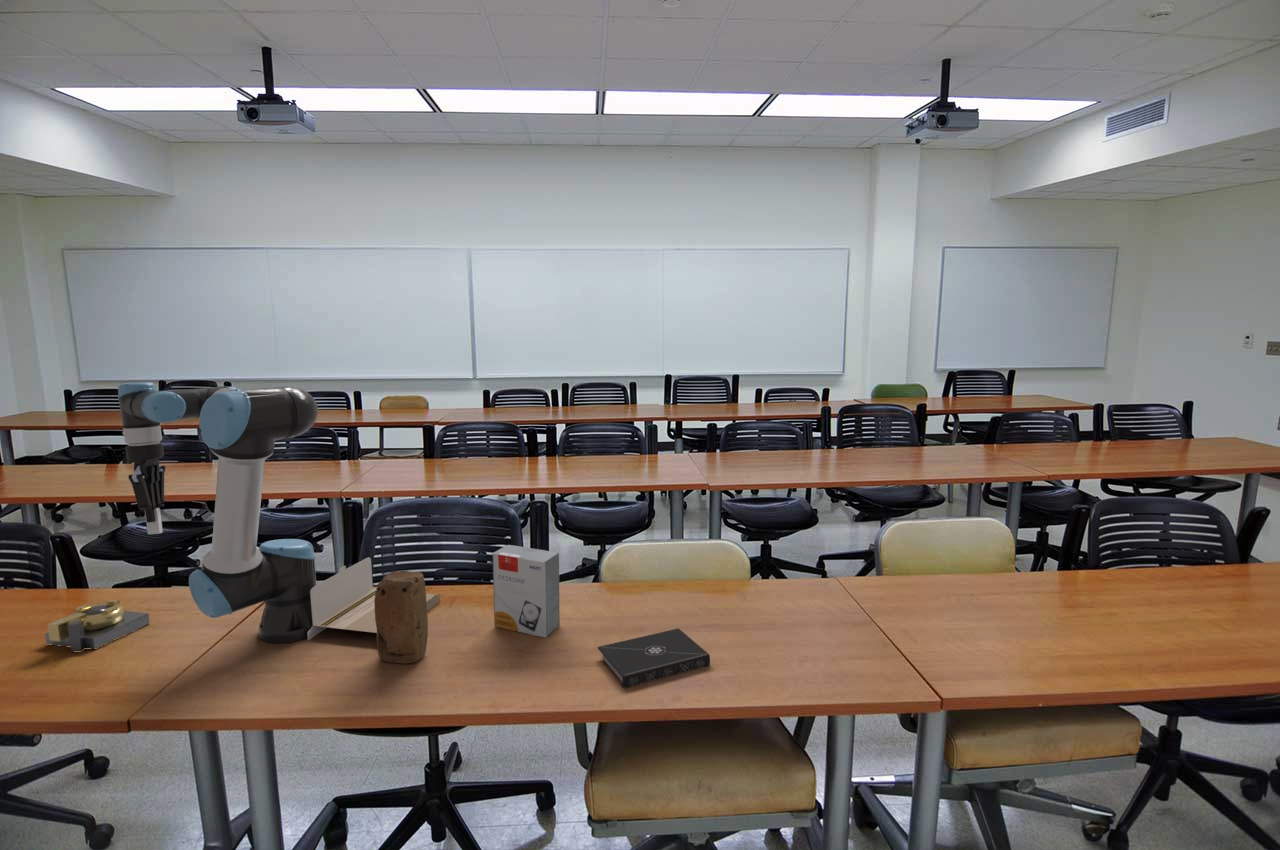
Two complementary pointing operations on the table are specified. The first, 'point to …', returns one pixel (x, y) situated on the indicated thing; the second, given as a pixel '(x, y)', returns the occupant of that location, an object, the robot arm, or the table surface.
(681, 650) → the book
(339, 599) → the box
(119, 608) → the brass ring with ball
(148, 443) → the robot arm
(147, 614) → the housing
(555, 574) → the hard drive box
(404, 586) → the block
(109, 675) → the table surface
